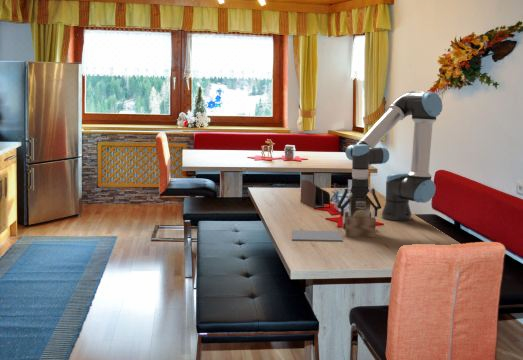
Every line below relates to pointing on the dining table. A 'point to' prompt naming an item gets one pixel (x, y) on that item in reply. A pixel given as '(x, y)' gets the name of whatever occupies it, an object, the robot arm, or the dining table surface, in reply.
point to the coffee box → (359, 207)
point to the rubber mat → (316, 235)
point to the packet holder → (359, 226)
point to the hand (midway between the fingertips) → (358, 223)
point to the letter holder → (313, 195)
